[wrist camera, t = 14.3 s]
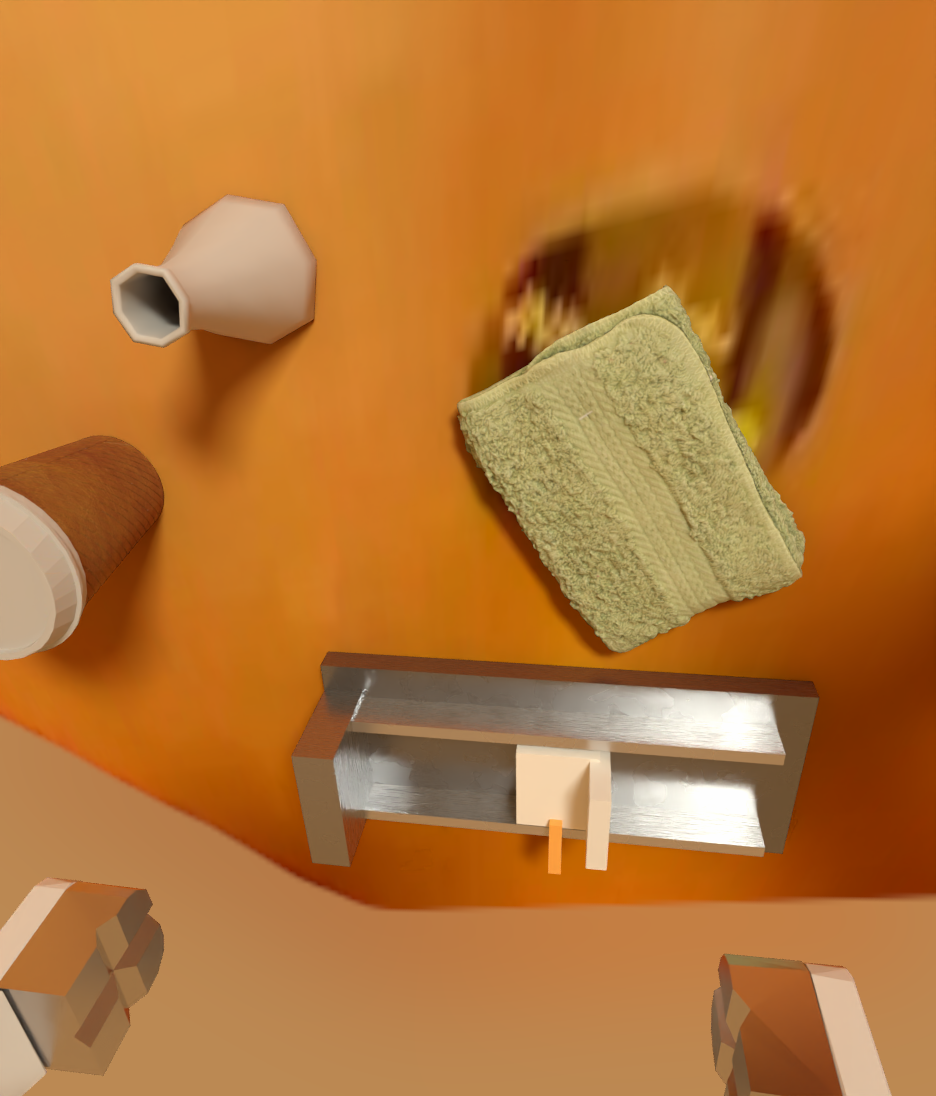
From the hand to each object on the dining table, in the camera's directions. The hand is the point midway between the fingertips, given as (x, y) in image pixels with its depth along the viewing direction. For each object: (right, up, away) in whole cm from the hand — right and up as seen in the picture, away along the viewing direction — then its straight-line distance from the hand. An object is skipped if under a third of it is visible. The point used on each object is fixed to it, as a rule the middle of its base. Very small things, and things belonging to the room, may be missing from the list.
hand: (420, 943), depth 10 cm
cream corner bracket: (+7, -10, +38) cm, 40 cm away
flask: (-10, +20, +27) cm, 35 cm away
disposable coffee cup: (-21, +9, +34) cm, 41 cm away
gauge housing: (+7, -8, +39) cm, 40 cm away
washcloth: (+10, +9, +30) cm, 33 cm away
